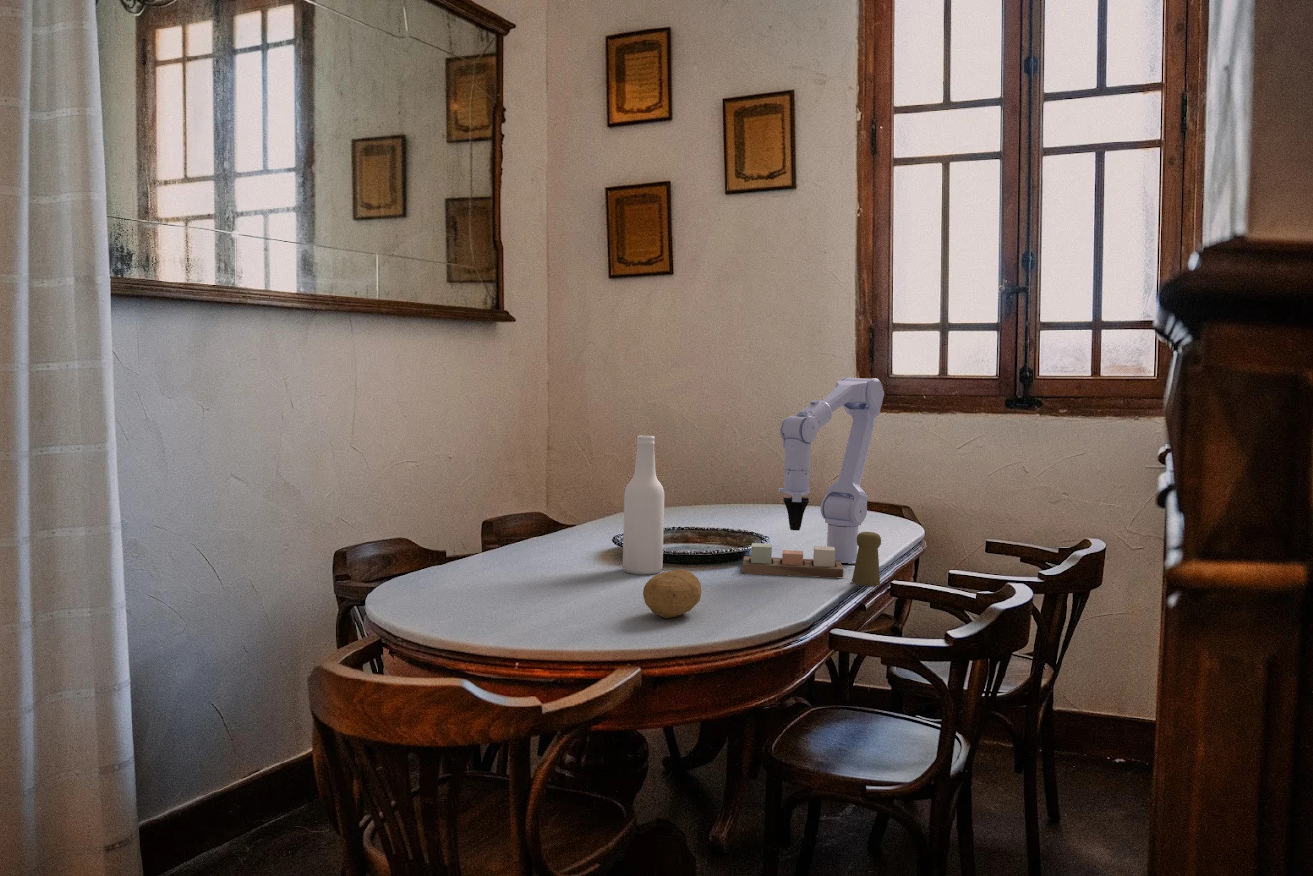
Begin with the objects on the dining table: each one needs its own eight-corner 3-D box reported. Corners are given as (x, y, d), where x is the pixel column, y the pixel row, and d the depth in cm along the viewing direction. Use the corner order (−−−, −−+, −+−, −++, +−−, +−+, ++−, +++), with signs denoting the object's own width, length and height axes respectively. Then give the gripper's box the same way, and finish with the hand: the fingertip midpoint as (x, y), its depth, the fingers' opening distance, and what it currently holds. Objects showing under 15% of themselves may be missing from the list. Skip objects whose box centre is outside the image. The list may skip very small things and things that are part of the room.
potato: (627, 620, 185) (628, 576, 184) (665, 605, 197) (667, 563, 196) (674, 628, 180) (676, 583, 179) (711, 612, 192) (712, 570, 191)
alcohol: (662, 575, 224) (666, 437, 221) (622, 574, 224) (625, 436, 221) (662, 567, 232) (665, 435, 230) (623, 566, 232) (626, 434, 230)
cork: (866, 587, 217) (870, 536, 216) (845, 581, 222) (849, 530, 221) (886, 584, 221) (889, 533, 220) (865, 578, 226) (868, 528, 225)
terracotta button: (781, 567, 235) (782, 549, 234) (801, 568, 234) (802, 550, 234) (782, 571, 230) (782, 553, 230) (802, 572, 230) (803, 554, 230)
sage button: (751, 560, 235) (751, 543, 235) (771, 561, 235) (771, 544, 235) (750, 564, 231) (751, 546, 231) (771, 565, 230) (771, 547, 230)
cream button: (813, 563, 234) (813, 545, 234) (833, 564, 233) (834, 546, 233) (814, 567, 229) (814, 549, 229) (834, 568, 229) (835, 550, 229)
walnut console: (743, 564, 238) (744, 556, 238) (840, 569, 236) (840, 560, 236) (742, 573, 229) (742, 564, 228) (843, 578, 226) (843, 569, 226)
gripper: (778, 465, 238) (776, 524, 239) (779, 472, 224) (777, 534, 225) (809, 467, 237) (807, 525, 238) (812, 473, 223) (809, 535, 224)
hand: (794, 530), depth 232 cm, fingers closed
